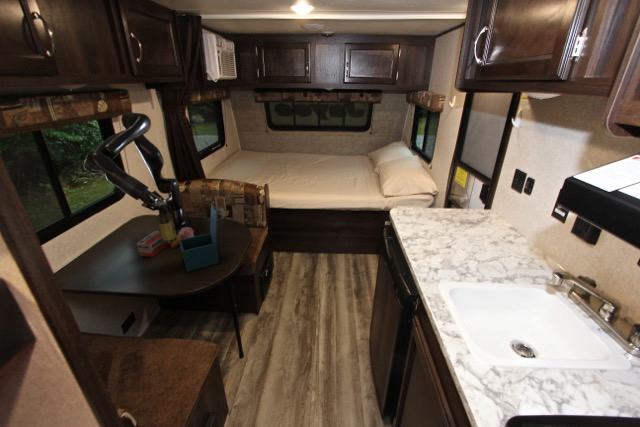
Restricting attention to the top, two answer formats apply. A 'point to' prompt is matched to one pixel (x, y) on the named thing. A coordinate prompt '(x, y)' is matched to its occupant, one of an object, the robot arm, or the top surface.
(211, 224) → the cool box lid
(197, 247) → the cool box
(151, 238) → the medicine box
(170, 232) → the sauce bottle
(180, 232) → the ice cream
